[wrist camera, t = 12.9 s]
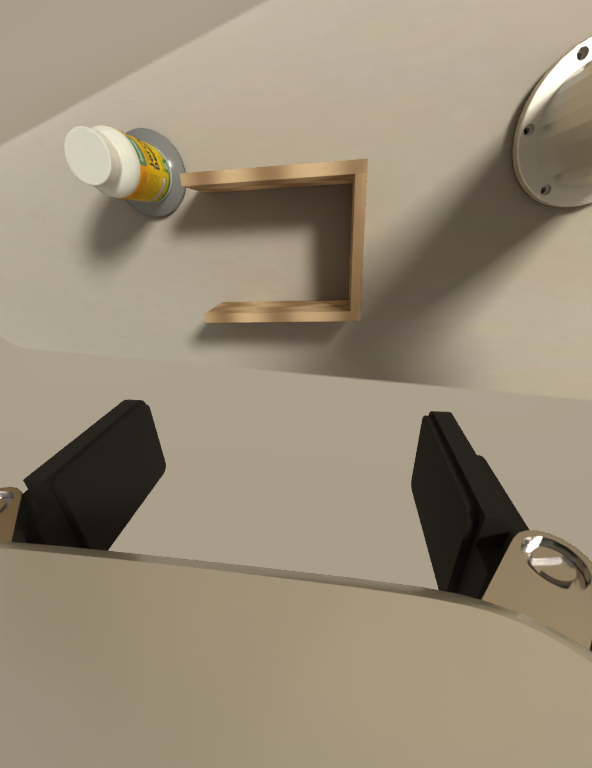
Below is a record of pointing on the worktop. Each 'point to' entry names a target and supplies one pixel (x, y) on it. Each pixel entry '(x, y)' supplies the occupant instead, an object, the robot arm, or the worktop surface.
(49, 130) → the worktop surface
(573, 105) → the robot arm
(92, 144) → the supplement bottle
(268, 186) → the wooden u-frame
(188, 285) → the worktop surface
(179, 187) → the slate coaster
